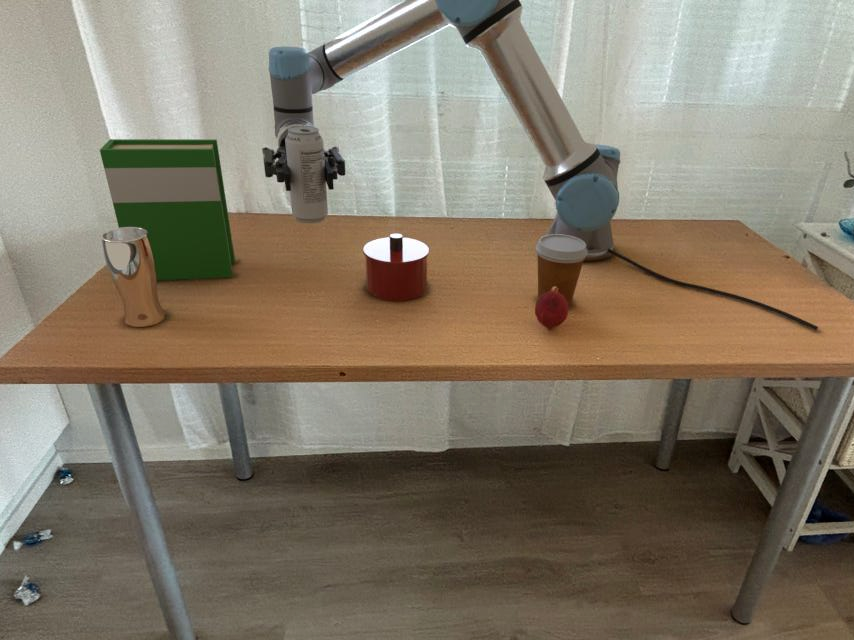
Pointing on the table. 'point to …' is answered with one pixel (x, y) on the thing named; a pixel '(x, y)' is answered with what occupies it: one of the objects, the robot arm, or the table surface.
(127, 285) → the beer glass
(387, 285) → the pot
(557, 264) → the disposable coffee cup
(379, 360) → the table surface
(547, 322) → the onion
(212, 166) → the hardback book
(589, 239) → the robot arm
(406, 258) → the pot lid
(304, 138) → the energy drink can
